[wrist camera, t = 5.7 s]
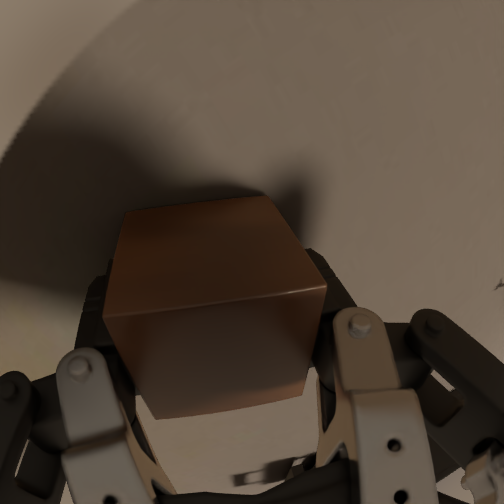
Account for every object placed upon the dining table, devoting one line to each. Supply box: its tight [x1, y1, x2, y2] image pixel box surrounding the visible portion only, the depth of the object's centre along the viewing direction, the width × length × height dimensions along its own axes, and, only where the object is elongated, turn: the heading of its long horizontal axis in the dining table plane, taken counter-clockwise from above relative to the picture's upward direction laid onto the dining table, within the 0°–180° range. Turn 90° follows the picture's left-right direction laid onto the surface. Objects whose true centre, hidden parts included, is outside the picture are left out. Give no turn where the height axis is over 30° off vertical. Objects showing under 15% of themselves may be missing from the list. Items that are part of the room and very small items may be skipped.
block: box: [102, 195, 327, 420], centre depth 9 cm, size 4×4×4 cm
